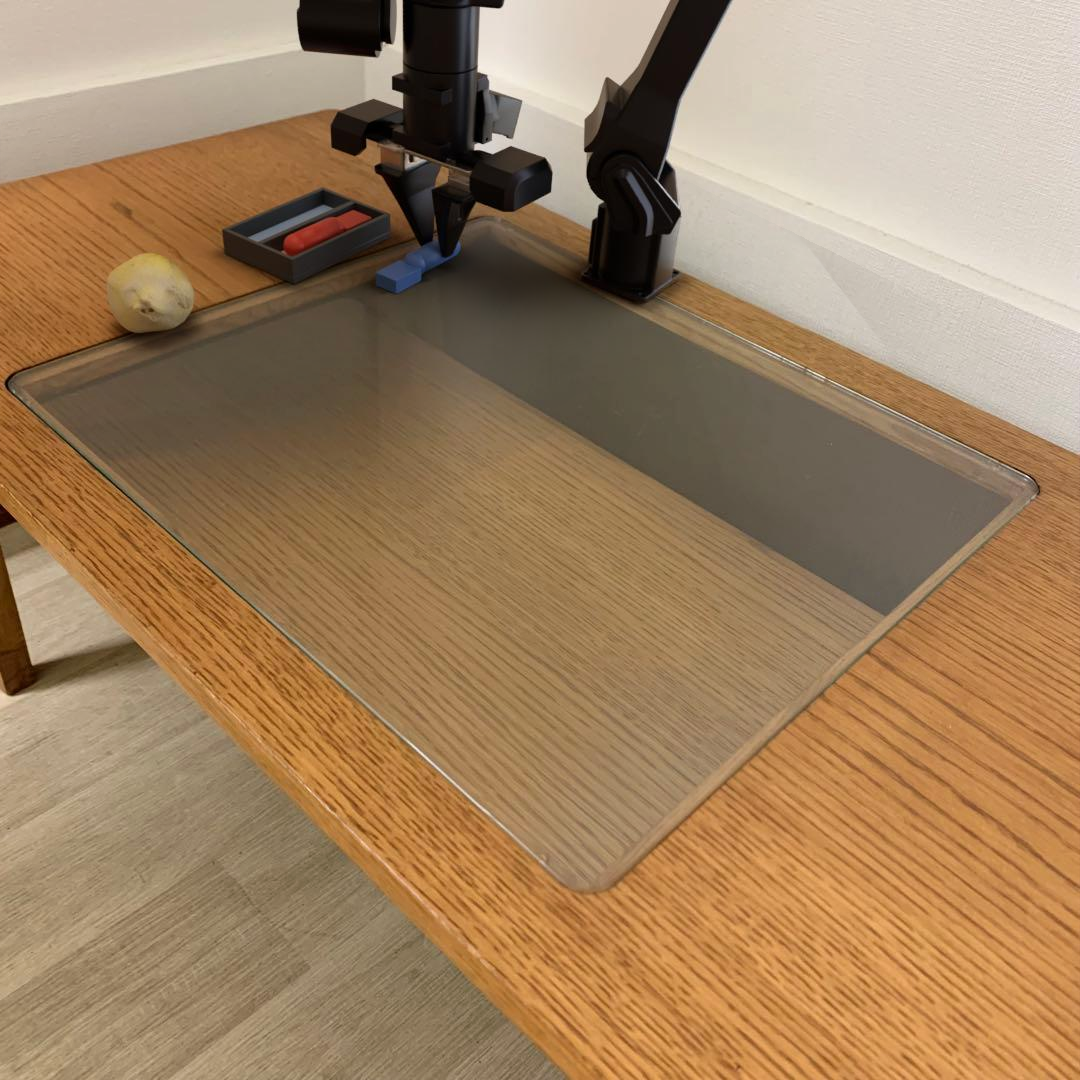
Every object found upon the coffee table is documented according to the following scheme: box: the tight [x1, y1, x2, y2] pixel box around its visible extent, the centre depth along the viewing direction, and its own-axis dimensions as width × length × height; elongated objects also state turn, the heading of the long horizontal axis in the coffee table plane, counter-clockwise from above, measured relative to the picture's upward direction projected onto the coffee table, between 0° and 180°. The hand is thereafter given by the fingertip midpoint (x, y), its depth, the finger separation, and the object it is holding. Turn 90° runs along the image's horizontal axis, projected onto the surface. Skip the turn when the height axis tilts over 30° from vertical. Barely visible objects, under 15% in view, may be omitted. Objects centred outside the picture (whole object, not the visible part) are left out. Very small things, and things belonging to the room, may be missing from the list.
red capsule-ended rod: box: [283, 210, 372, 257], centre depth 95 cm, size 9×2×2 cm, turn 145°
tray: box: [221, 187, 392, 285], centre depth 97 cm, size 8×12×2 cm, turn 145°
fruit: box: [106, 252, 195, 334], centre depth 85 cm, size 6×6×10 cm
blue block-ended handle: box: [375, 237, 461, 295], centre depth 95 cm, size 9×2×2 cm, turn 145°
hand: (437, 251), depth 96 cm, fingers closed on blue block-ended handle, 2 cm apart
